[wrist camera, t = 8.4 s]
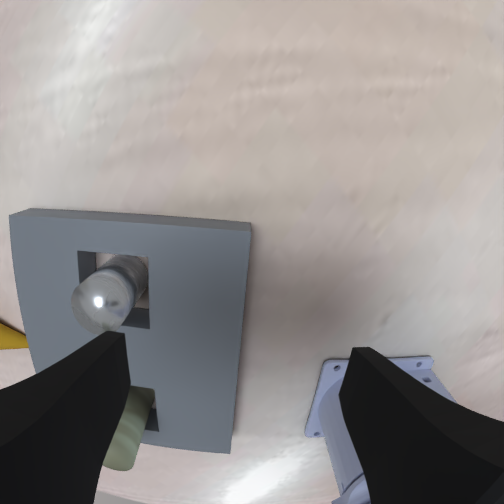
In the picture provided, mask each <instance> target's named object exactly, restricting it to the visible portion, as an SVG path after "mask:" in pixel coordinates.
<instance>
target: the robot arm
mask: <svg viewBox="0 0 504 504" xmlns="http://www.w3.org/2000/svg"><path fill="white" fill-rule="evenodd" d="M418 362H419V363H418ZM433 362H434V360H433V358H432V357H430V356H427V357H412V358H393V359H387V358H386V357H384V356H383V355H381V354H380V353H378V352H377V351H375V350H374V349H372V348H370V347H353V348H352V352H351V355H350V359H349V360H328V361H326V362H325V363H324V364H323V366H322V370H321V374H320V378H319V382H318V386H317V390H316V393H315V397H314V400H313V404H312V408H311V411H310V415H309V418H308V421H307V425H306V428H305V436H306V437H325V441H326V445H327V448H328V452H329V456H330V459H331V463H332V467H333V470H334V474H335V478H336V481H337V485H338V489H339V493H340V497H339V498H337V499H335V500H333V501H332V504H504V422H502V421H499V420H496V419H493V418H490V417H487V416H484V415H482V414H479V413H476V412H474V411H472V410H469V409H467V408H465V407H463V406H461V405H459V404H457V402H456V401H455V400H454V398H453V397H452V396H451V394H450V393H449V392H448V391H447V389H446V388H445V387H444V385H443V384H442V383H441V382H440V380H439V379H438V378H437V377H436V375H435V374H434V373H433V371H432V370H431V368H432V365H433ZM417 363H418V364H417ZM337 365H339V367H337V368H334V367H335V366H337ZM130 385H131V379H130V372H129V365H128V357H127V348H126V339H125V333H121V332H114V331H106V332H104V333H102V334H100V335H99V336H97V337H96V338H94V339H93V340H91V341H89V342H88V343H86V344H85V345H83V346H82V347H80V348H79V349H77V350H76V351H74V352H73V353H71V354H70V355H68V356H66V357H65V358H63V359H62V360H60V361H58V362H56V363H55V364H53V365H51V366H50V367H48V368H46V369H44V370H43V371H41V372H39V373H37V374H35V375H33V376H31V377H29V378H27V379H25V380H23V381H21V382H18V383H16V384H14V385H11V386H9V387H6V388H3V389H0V504H93V503H94V498H95V493H96V488H97V484H98V479H99V475H100V471H101V468H102V465H103V462H104V459H105V456H106V454H107V451H108V449H109V446H110V444H111V441H112V439H113V436H114V434H115V431H116V429H117V426H118V424H119V421H120V419H121V416H122V414H123V411H124V409H125V405H126V401H127V397H128V393H129V389H130ZM315 432H316V433H315Z"/></svg>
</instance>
